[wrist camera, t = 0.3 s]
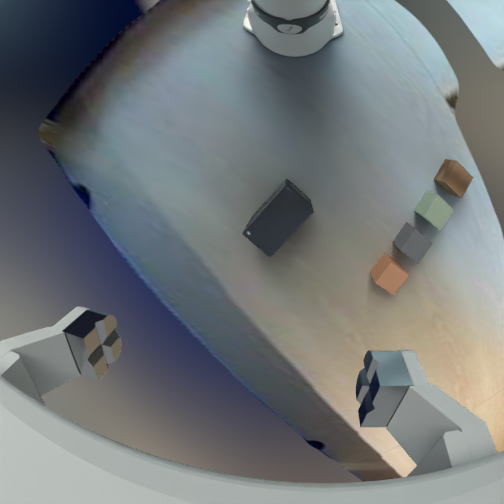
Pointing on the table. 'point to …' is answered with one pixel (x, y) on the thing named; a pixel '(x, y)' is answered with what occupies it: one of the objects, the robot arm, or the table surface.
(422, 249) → the charcoal block
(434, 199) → the sage block
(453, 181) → the walnut block
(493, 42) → the table surface
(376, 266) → the terracotta block
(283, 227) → the small box
